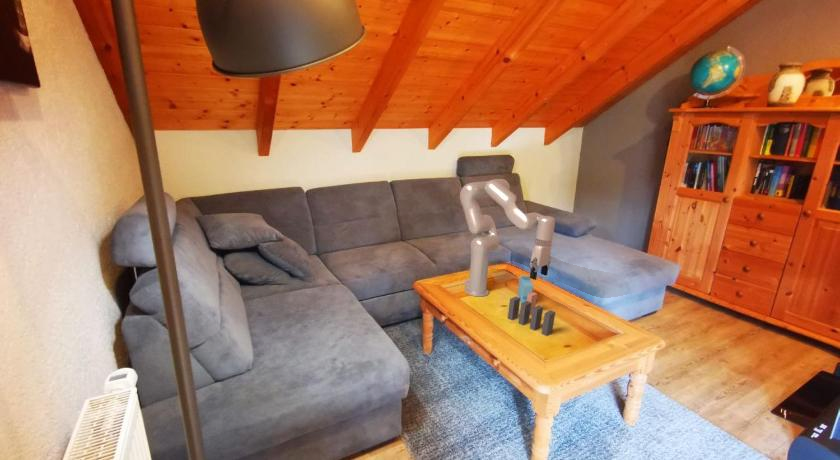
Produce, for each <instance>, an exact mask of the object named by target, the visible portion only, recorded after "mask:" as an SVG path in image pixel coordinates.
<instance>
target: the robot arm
mask: <svg viewBox="0 0 840 460" xmlns="http://www.w3.org/2000/svg"><path fill="white" fill-rule="evenodd" d="M510 189H511V185H510V183H509V182H508V181H507V180H506V179H504V178H495V179H490V180H485V181H475V182H474V181H473V182H469V183H466V184H465V185H463V187H461V190H460V192H459V199H460V200H459V201H460V204H461V206H462V209H463V212H464V217H465V219H466V223H467V227H468V230H469V232H470V233H471V234H473V235H478V234H481V235H478V236H476V237H474V238H473V239H472V240H471V242H470V267H469V277H468V280H467V279H465V280H464V281H463V285H465V286H466V287H465V289H464V291H465V293H466V294H467V295H470V296H473V297H482V298H483V297H486V296H488V295H489V290H488V289H487V282H488V272H489V265H490V264H489V263H490V259H489V255H488V253H491V252H493V251H496V250H497V249H498V248H499V246H500V238H499V235H498V231H497V227H496V223H495V221H494V219H493V217H492V216H491V215H489V214H483V213H482V210H481V207H480V205H479V204H478V202H477V200H476V199H482V198H489V197H490V198H491V199H492V200H493V201H495V202H496V204H498V205H499V206H500V207H501V208H502V209H503V210H504V213H505V215H506V218H507V219H508V220H509V221H510V222H511V223H512V224H513V225H514V226H516V227H517V228H518V229H520V230H522V231H528V230H534V229H536V233H535V240H534V246H533V249H532V253H531V257H530V262H529V270H530V273H529V278H530V280H531V279H532V280H534V281H536V280H537V277H538V269H539V268H541V270H540V275H542V276H545V277H546V276H548V272H549V267H550V264H551V260H552V256H551V249H552V244H553V239H554V232H555V225H556V219H555V217H553V216H551V215H543V214H541V213H538V212H528V213H525V212H523V211H522V210H521V209H520V208H519V207H518V206H517V204H516V202H517V195H516V194H515V193H514V192H512V191H511V190H510Z"/></svg>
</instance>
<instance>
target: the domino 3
mask: <svg viewBox="0 0 840 460" xmlns="http://www.w3.org/2000/svg"><path fill="white" fill-rule="evenodd" d="M537 299H538V293H536V292H534V291H532V293H530V294H528V296H527V301H529V302H531V310H530V315H532V309H533V308H534V307H536V306H537Z"/></svg>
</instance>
